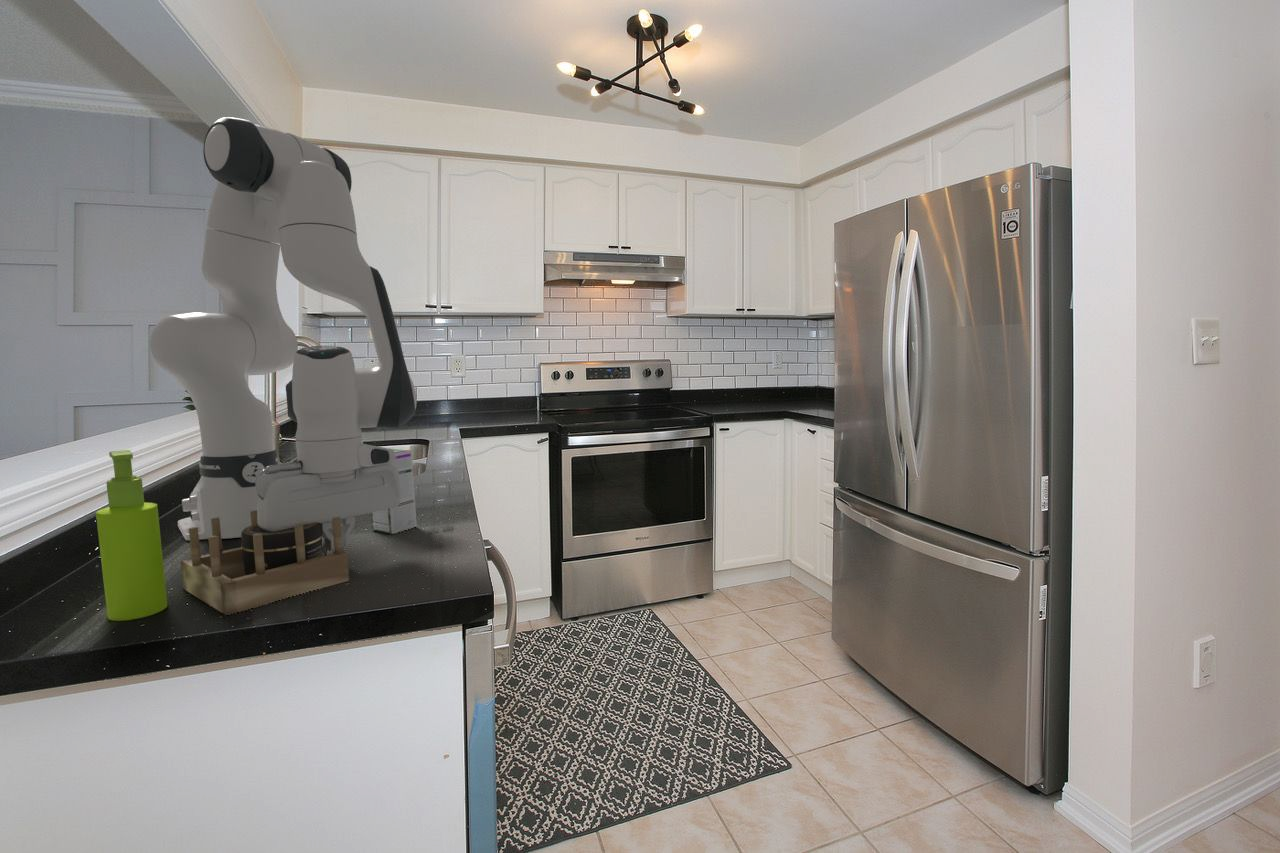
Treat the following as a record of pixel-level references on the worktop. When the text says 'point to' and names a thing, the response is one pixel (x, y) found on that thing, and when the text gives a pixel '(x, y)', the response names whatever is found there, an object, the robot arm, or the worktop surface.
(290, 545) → the jar
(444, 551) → the worktop surface
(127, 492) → the soap dispenser
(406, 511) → the syrup box
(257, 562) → the dish rack
